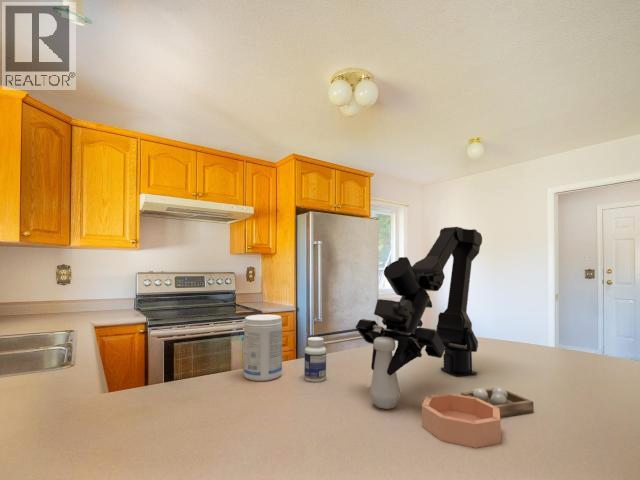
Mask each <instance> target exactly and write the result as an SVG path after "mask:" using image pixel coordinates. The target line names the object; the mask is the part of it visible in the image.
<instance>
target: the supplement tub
mask: <svg viewBox="0 0 640 480" xmlns="http://www.w3.org/2000/svg"><path fill="white" fill-rule="evenodd" d="M243 324H244V325H243V326H244V328H243V329H244V330H243V332H244V333H243V336H244V337H243V376H244V377H245V379H247V380H249V381H255V382H256V381H257V382H266V381H272V380H275V379H278V378H279V377H280V376H281V375H282V373H283V322H282V316H281V315H278V314H252V315H248V316H246V317H244V323H243Z"/></svg>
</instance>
